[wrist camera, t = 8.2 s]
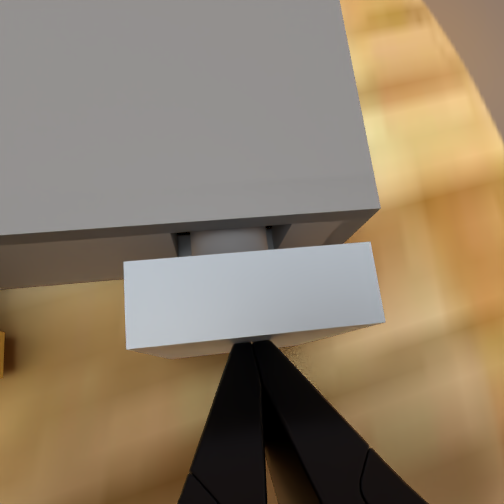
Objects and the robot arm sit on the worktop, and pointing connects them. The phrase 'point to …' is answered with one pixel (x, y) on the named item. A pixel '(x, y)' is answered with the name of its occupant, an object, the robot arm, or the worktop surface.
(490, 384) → the worktop surface
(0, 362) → the mustard button
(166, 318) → the light gray button
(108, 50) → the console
